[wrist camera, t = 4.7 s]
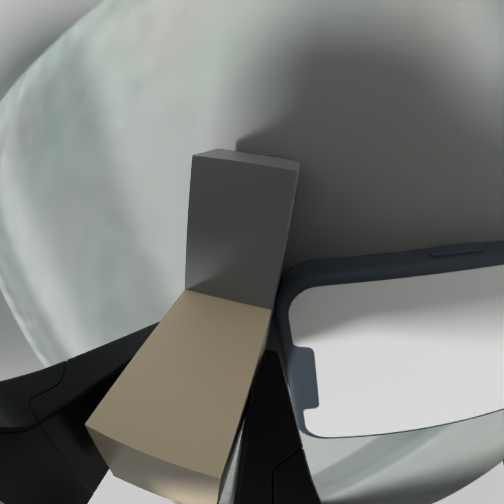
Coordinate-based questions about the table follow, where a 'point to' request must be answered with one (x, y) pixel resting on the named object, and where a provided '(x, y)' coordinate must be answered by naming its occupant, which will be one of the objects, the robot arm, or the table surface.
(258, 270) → the scraper
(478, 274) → the smartphone
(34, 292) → the table surface
